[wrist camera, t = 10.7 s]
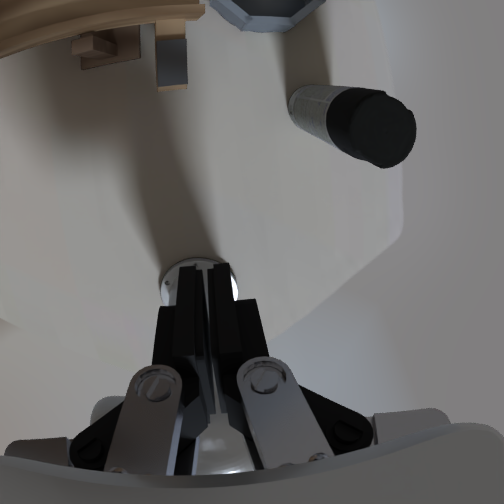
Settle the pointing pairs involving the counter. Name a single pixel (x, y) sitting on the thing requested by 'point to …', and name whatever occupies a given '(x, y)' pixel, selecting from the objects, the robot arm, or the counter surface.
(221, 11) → the octagonal bowl
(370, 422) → the robot arm
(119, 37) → the pivot stand
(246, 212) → the counter surface
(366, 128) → the spray can
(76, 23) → the lever tray
